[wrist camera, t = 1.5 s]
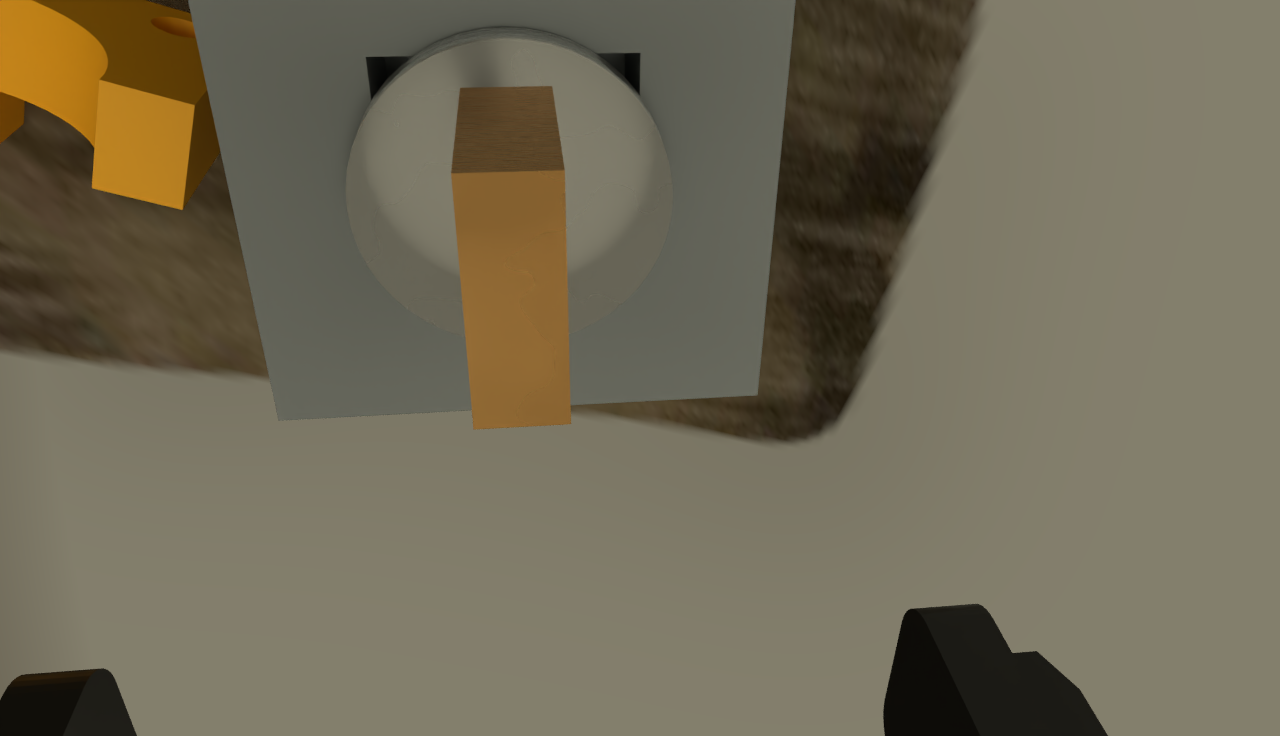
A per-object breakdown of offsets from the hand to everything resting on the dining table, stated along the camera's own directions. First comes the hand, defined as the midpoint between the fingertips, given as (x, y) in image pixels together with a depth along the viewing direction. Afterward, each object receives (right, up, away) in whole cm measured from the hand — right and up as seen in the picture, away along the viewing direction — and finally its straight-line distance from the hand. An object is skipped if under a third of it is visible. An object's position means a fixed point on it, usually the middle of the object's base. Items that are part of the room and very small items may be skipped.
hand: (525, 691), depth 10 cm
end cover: (-2, +9, +14) cm, 17 cm away
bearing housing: (-3, +12, +18) cm, 22 cm away
